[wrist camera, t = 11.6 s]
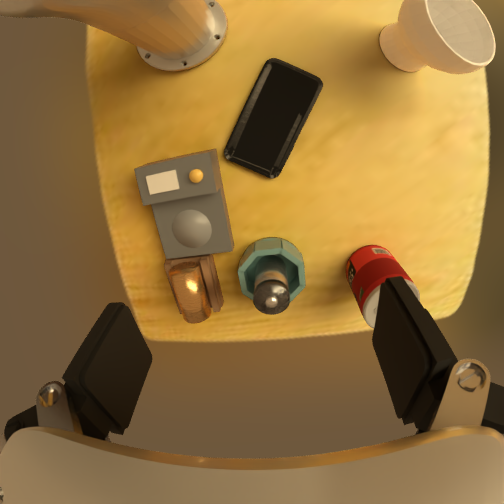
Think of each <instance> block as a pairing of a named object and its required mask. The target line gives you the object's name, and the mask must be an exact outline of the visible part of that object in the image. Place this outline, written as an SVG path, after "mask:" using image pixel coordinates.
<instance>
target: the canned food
mask: <svg viewBox="0 0 504 504" xmlns="http://www.w3.org/2000/svg"><path fill="white" fill-rule="evenodd" d="M346 276H347V280H348V282H349V284H350V287H351V289H352V291H353V294H354V296H355V298H356V301H357V303H358V306H359V308H360V311H361V313H362V315H363V318H364V319H365V321H366V323H367V324H368V325H369V326H370V327H372V328H374V326H375V320H376V314H377V307H378V300H379V293H380V286H381V283H384V282H385V280H386V278H389V277H396V276H402V277H403V278H404V280H405V281H406V282H407V284H408V285H409V287H410V288H411V290H412V291H413V293H414V294H415V296H416V297H417V299H418V300H420V294H419V291H418V289H417V287H416V286H415V284H414V283H413V281H412V280H411V279H410V277H409V276H408V275H407V273H406V272H405V271H404V270H403V268H402V267H401V266H400V265H399V263H398V262H397V261H396V260H395V258H394V257H393V256H392V255H391V253H390V252H389V251H388V250H387V249H385V248H383V247H381V246H377V245H368V246H364V247H362V248H360V249H358V250H357V251H356V252H354V253H353V255H352V256H351V257H350V259H349V260H348V263H347V267H346Z"/></svg>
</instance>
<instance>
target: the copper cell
mask: <svg viewBox="0 0 504 504" xmlns="http://www.w3.org/2000/svg"><path fill="white" fill-rule="evenodd" d="M169 276H170V279H171V282H172V285H173V288H174V291H175V294H176V297H177V300H178V303H179V306H180V308H181V311H182V314H183V317H184V319H185V321H187V322H189V323H199V322H202V321H204V320H206V319H207V318H209V316H210V315H211V308H210V304H209V301H208V297H207V294H206V290H205V287H204V283H203V279H202V276H201V272H200V268H199V265H198V263H196V262H191V261H190V262H183V263H180V264H177V265H175V266H174V267H172V268H171V269H170V270H169Z"/></svg>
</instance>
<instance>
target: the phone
mask: <svg viewBox="0 0 504 504" xmlns="http://www.w3.org/2000/svg"><path fill="white" fill-rule="evenodd" d="M322 87H323V83H322V81H321V79H320V78H318V77H317V76H315V75H313V74H310V73H308V72H306V71H304V70H302V69H300V68H298V67H295V66H293V65H291V64H289V63H286V62H284V61H282V60H279V59H276V58H271V59H269V60H267V61H266V63H265V65H264V67H263V69H262V71H261V73H260V75H259V77H258V79H257V81H256V83H255V85H254V87H253V89H252V91H251V93H250V95H249V97H248V99H247V101H246V104H245V106H244V108H243V110H242V112H241V114H240V116H239V119H238V121H237V123H236V125H235V127H234V130H233V132H232V134H231V136H230V139H229V141H228V143H227V145H226V148H225V151H224V155H225V157H226V158H227V159H228V160H230V161H232V162H234V163H237V164H239V165H241V166H244V167H246V168H248V169H251V170H253V171H255V172H257V173H260V174H262V175H264V176H266V177H269V178H275V177H277V176H279V174H280V173H281V171H282V169H283V167H284V165H285V163H286V160H287V159H288V157H289V155H290V152H291V151H292V149H293V147H294V144H295V142H296V140H297V138H298V136H299V134H300V132H301V130H302V128H303V126H304V124H305V122H306V120H307V118H308V116H309V114H310V112H311V110H312V108H313V106H314V104H315V102H316V100H317V98H318V96H319V94H320V92H321V90H322Z"/></svg>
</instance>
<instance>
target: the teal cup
mask: <svg viewBox="0 0 504 504" xmlns="http://www.w3.org/2000/svg"><path fill="white" fill-rule="evenodd" d="M267 255H275V256H278V257H280V258H281V259H282V260H283V261H284V262H285V265H286V271H287V279H288V288H289V293H290V302H291V301H292V300H293V299H294V298H295V297H296V296H297V295H298V294H299V293H300V292H301V291H302V290H303V289H304V288H305V286H306V285H305V271H304V262H303V257H302V254H301V253H300V252H299V250H298V249H297V248H296V247H295V246H294V245H293V244H292V243H290V242H289V241H287V240H285V239H282V238H277V237H267V238H263V239H260V240H257V241H255V242H254V243H252V244H251V245H250V246H249V247H248V248H247V249H246V250H245V252H244V254H243V256H242V258H241V259H240V262H239V267H238V276H239V281H240V286H241V291H242V293H243V294H244V295H245V296H247V297H249V298H250V299H252V300H253V295H254V287H255V274H256V265H257V262H258V261H259V260H260V259H261V258H262V257H264V256H267Z"/></svg>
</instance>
